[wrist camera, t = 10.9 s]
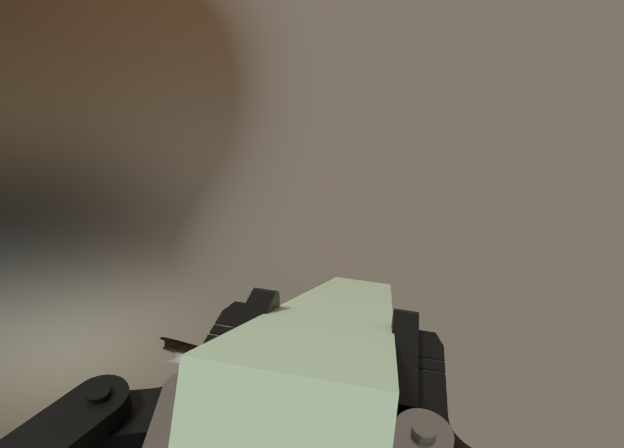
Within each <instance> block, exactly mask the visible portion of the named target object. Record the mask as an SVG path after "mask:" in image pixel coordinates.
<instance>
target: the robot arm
mask: <svg viewBox="0 0 624 448" xmlns="http://www.w3.org/2000/svg"><path fill="white" fill-rule="evenodd" d="M279 299H280V298H279V292H278V291H274V290H266V289H260V288H254V289H253V290H252V292H251V294H250V296H249V298H248V300H247V302H246V303H242V302H234V303H232V304H231V305H230V306H228V307H227V308H226V309H224V310H223V311H222V312H221V314H220V316H219V318H218V319H217V321H216V323H215V325H214V326H213V328H212V329H211V331H210V334H209V335H208V336H207V338H206V339H205V341H204V343H206V342H208V341H210V340H212V339H214V338H216V337H218V336H220V335H222V334H224V333H226V332H228V331H230V330H232V329H234V328H236V327H238V326H240V325H242V324H244V323H246V322H248V321H250V320H252V319H254V318H256V317H258V316H260V315H262V314H267V313H269V312H271V311H273V310H275V309H277V308H279V304H280V302H279V301H280V300H279ZM391 326H392V334H394V336H395V348H396V360H397V372H398V385H399V399H398V408H397V416H396V425H395V433H394V442H393V448H471V447H469V446H468V445H467V444H465V443H464V442H463V441H462V440H460V439H459V438H458V436H457V435H456V434H455V433H454V431H453V430H452V428H451V426H450V423H449V420H448V411H447V393H446V378H445V377H446V376H445V363H444V346H443V344H442V343H441V341H440V340H439V338H438V336H437V334H436V333H434V332H428V331H422V330H419V313H418V312H414V311H407V310H400V309H394V310H393V316H392V323H391ZM204 343H203V344H204ZM177 379H178V373H176V374H174V375H172V376H171V377H170V378H169V379H168V380H167V381H166V382H165V384H164V386H163V387H159V388H152V389H140V390H129V386H128V383H127V382H126V381H125V380H124V379H123V378H121V377H119V376H116V375H101V376H96V377H93V378H91V379H89V380H87V381H85V382H83V383H82V384H80V385H79V386H77V387H76V388H74V389H73V390H71V391H70V392H68V393H67V394H65V395H64V396H63V397H61V398H60V399H58V400H57V401H55V402H54V403H52V404H51V405H50V406H48V407H47V408H45V409H44V410H42V411H41V412H39V413H38V414H36V415H35V416H34V417H32V418H31V419H29V420H28V421H26V422H25V423H23V424H22V425H21V426H19V427H18V428H16V429H15V430H13V431H12V432H11V433H9V434H7V435H6V436H5V437H3V438H2V439H0V448H168V446H169V438H170V431H171V424H172V416H173V409H174V401H175V394H176V387H177Z"/></svg>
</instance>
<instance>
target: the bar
mask: <svg viewBox="0 0 624 448" xmlns="http://www.w3.org/2000/svg"><path fill="white" fill-rule="evenodd" d="M392 316H393V312H392V300H391V288H390V284H382V283H375V282H368V281H361V280H354V279H346V278H339V277H336V278H334V279H332V280H330V281H328V282H326V283H324V284H322V285H320V286H318V287H316V288H314V289H312V290H310V291H308V292H306V293H304V294H302V295H300V296H298V297H296V298H294V299H292V300H290V301H288V302H286V303H284V304H282V305H280V306H279V308H277V309H275V310H273V311H271V312H269V313H267V314H262V315H260V316H258V317H256V318H254V319H252V320H250V321H248V322H246V323H244V324H242V325H240V326H238V327H236V328H234V329H232V330H230V331H228V332H226V333H224V334H222V335H220V336H218V337H216V338H214V339H212V340H210V341H208V342H206V343H204V344H203V345H200V346H198V347H196V348H194V349H192V350H190V351H188V352H186V353H184V354H182V355H181V357H180V364H179V372H178V379H177V387H176V394H175V401H174V409H173V416H172V424H171V431H170V438H169V446H168V448H393V442H394V433H395V425H396V416H397V408H398V399H399V385H398V372H397V360H396V348H395V336H394V334H392V326H391V323H392Z"/></svg>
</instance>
